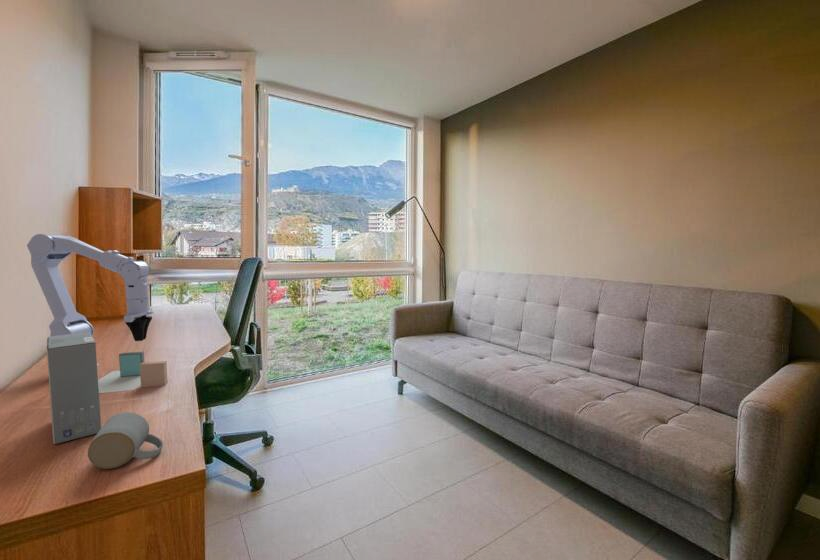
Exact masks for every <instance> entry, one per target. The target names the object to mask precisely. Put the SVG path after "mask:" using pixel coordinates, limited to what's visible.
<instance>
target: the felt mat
mask: <svg viewBox="0 0 820 560" xmlns="http://www.w3.org/2000/svg"><path fill="white" fill-rule="evenodd" d="M98 387H99V394H104V393H106V394H107V393H118V392H128V391H129V392H130V391H135V390H136V389H137V388H138V387H141V379H140V375H137V376H124V377H120V370H112V371H111V372H109V373H107V374H106V375H104V376H102V377H101V378H98Z"/></svg>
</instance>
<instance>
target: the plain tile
mask: <svg viewBox="0 0 820 560" xmlns="http://www.w3.org/2000/svg"><path fill="white" fill-rule="evenodd" d="M167 364H168V363H167V360H161V361H144V362H143V363H141V364H140V379H141V385H140V388H149V387H161V386H166V385H167V384H168V382H169V381H168V368H167V367H168V366H167Z"/></svg>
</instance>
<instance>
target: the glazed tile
mask: <svg viewBox="0 0 820 560" xmlns="http://www.w3.org/2000/svg"><path fill="white" fill-rule="evenodd" d="M118 362H119V363H118V364H119V371H120V377H124V376H137V375H140V364H141V363H143V362H145V352H144V351H134V352H133V351H132V352H121V353H119V354H118Z"/></svg>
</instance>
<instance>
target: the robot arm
mask: <svg viewBox="0 0 820 560" xmlns="http://www.w3.org/2000/svg"><path fill="white" fill-rule="evenodd" d="M26 246H27V249H28V251H29V254H30V266H31V268H32V269H33V272H34V276H35V277H36V279H37V281H38V284H39V287H40V288H41V291H42V293H43V296H44V298H45V300H46V303H47V305H48V307H49V309H50V311H51V314H52V316H53V320H52V321H51V322H50V323H49V325H48V327H49V330H50V335H49V337H50V336H59V335H67V334H76V333H85V332H90V333H91V335H92V337H93V336H94V333H95V329H94V328H95V327H93V325H92V323H90V322H89V321H88V319H87V316H85V315H83V314H81V313H79V312H77V310H76V306H75V304H74V302H73V300H72V298H71V296H70V293H69V291H68V288H67V286H66V284H65V282H64V278H63V276H62V274H61V272H60V269H59V267H58V266H59V265H60V264H61V262H62V261H65V259H66V258H67V257H69V256H70V255H71V254H72V253H74V254H76V255H80V256H83V257H87V258H89V259H92V260H94V261H97V262H98V264H99V266H100V267H102V268H104V269H106V270H109V271H112V272H114V273H116V274H119V275H120V276H121V278H122V279H123V281H124V285H125V286H124V287H125V296H126V297H125V298H126V299H125V300H126V311H127V312H126V314H125V315H124V316H123V321H124V323H125V324H126V326H127V327H128V328H129V330H130V332H131V335H132V337H133V340H134V341H135V342H141V341H144V340H146V339H147V333H148V330H149V325H150V323H151V321H152V319H153V316H148V315H153V314H154V311H153V310H152V308H150V303H149V288H148V287H149V286H148V277H149V276H150V274H151V272H152V270H151V266H150V265H149V264H148V263H147V262H146V261H144V260H141V259H140V260H135V258H134V257H133V256H126V255H123V254H121V253H120V251H119V250H117V249H114V250H113V249H112V250H110V249H109V250H106V251H103V250H102V249H99V248H97V247H95V246H93V245H90V244H88V243H87V242H85V241H82V240H80V239H78V238H77V237H73V236H70V235H67V234H59V235H58V234H45V233H38V234H35V235H33V236H32V237H31V239H30V240H29V241H28V243H27V244H26ZM99 366H100V363H97V367H99Z"/></svg>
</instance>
